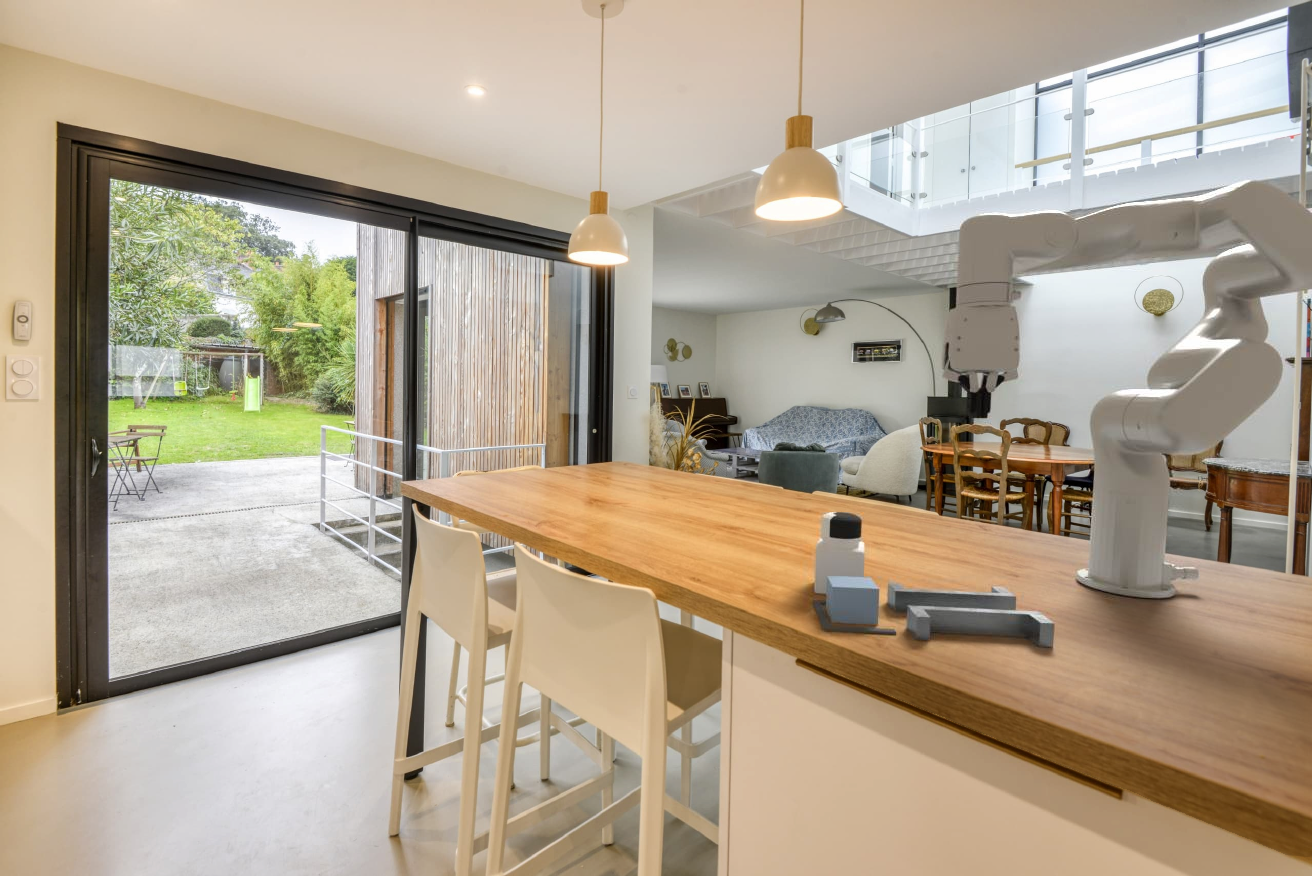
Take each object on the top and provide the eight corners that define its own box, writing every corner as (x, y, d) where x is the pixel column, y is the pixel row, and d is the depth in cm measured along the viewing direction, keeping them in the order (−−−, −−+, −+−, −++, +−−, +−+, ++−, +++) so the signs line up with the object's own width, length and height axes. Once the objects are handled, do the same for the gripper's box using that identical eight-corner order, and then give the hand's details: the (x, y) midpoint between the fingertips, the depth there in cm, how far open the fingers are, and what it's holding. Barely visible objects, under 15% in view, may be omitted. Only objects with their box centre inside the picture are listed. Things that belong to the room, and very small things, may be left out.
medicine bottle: (863, 584, 96) (865, 511, 96) (863, 599, 90) (865, 520, 89) (817, 580, 99) (819, 508, 98) (814, 593, 92) (816, 516, 91)
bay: (875, 604, 87) (875, 602, 87) (896, 634, 76) (896, 632, 76) (812, 601, 88) (812, 599, 88) (823, 630, 78) (824, 628, 78)
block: (869, 612, 85) (870, 577, 84) (878, 625, 80) (879, 588, 79) (825, 609, 85) (826, 575, 85) (831, 623, 80) (832, 586, 80)
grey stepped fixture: (1002, 607, 86) (1003, 587, 86) (1053, 647, 73) (1054, 623, 73) (887, 601, 88) (887, 582, 88) (915, 639, 75) (916, 616, 75)
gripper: (1023, 302, 95) (1017, 417, 96) (924, 303, 97) (920, 416, 98) (1048, 294, 88) (1041, 419, 89) (940, 295, 89) (935, 418, 91)
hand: (977, 417), depth 94 cm, fingers closed
